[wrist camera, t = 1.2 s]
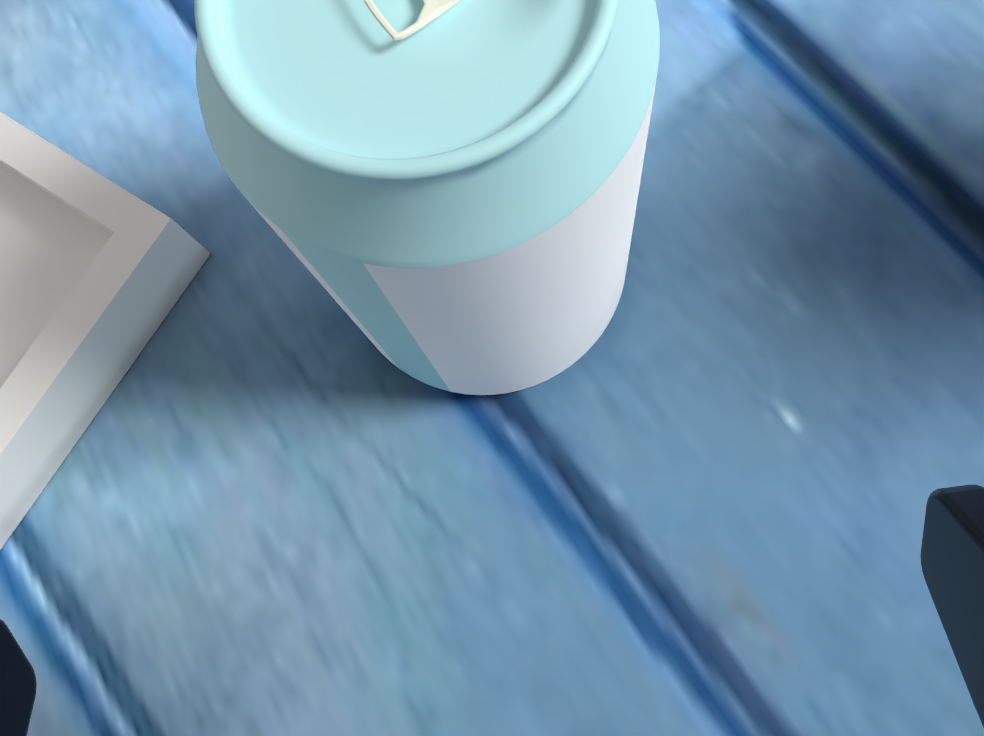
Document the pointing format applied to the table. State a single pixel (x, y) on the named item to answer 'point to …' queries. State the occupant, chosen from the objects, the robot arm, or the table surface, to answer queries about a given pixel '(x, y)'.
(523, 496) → the table surface
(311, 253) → the can
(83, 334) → the tray
